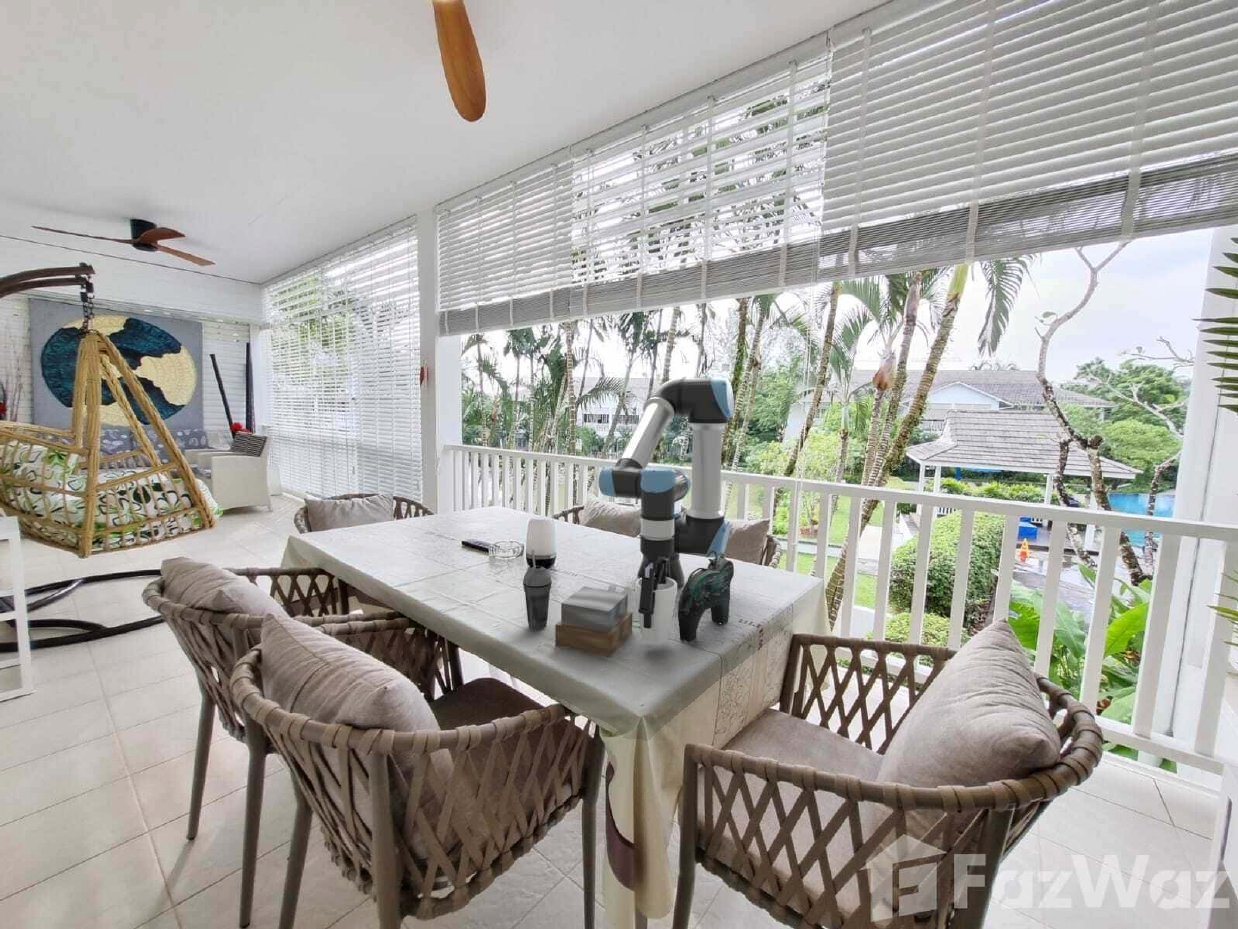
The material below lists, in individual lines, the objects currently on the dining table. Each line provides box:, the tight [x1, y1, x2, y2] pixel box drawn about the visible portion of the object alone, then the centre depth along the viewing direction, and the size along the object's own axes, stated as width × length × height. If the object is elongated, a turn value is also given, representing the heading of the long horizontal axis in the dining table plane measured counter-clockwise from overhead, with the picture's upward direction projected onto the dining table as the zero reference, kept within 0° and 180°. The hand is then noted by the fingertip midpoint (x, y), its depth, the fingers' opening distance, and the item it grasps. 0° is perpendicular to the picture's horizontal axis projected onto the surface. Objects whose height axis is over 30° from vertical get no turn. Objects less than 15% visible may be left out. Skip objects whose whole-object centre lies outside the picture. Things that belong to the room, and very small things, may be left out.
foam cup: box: [634, 577, 678, 645], centre depth 114 cm, size 10×9×13 cm
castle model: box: [607, 585, 640, 627], centre depth 135 cm, size 15×15×7 cm
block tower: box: [554, 586, 633, 658], centre depth 120 cm, size 14×14×10 cm
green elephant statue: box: [677, 550, 735, 643], centre depth 125 cm, size 20×6×20 cm, turn 136°
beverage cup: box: [522, 549, 553, 631], centre depth 125 cm, size 7×7×20 cm
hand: (655, 630), depth 115 cm, fingers closed on foam cup, 9 cm apart
